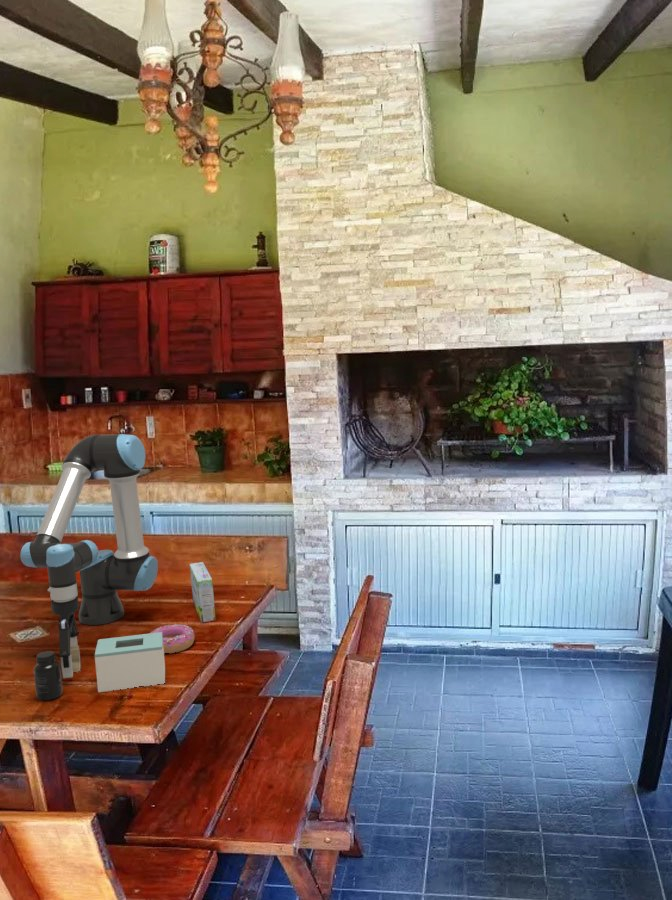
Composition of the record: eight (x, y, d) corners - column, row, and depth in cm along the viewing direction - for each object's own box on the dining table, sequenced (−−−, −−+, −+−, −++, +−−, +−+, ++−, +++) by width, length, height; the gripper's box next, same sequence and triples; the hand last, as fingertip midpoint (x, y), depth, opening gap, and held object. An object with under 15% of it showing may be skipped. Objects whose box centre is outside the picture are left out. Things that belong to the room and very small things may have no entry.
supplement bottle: (67, 694, 215) (63, 653, 213) (44, 704, 210) (39, 661, 208) (55, 687, 219) (50, 647, 217) (31, 696, 214) (27, 655, 212)
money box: (101, 675, 226) (98, 639, 224) (165, 667, 229) (162, 631, 227) (98, 692, 215) (94, 654, 213) (164, 683, 218) (161, 646, 217)
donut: (204, 642, 247) (203, 627, 246) (172, 659, 235) (171, 643, 235) (171, 634, 255) (170, 619, 254) (138, 650, 243) (137, 635, 242)
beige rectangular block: (63, 669, 231) (61, 647, 230) (81, 667, 232) (78, 645, 230) (62, 674, 228) (59, 651, 227) (80, 672, 229) (77, 649, 228)
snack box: (191, 603, 282) (188, 563, 280) (207, 601, 284) (204, 561, 282) (200, 623, 262) (197, 580, 260) (216, 621, 264) (213, 578, 262)
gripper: (56, 586, 237) (63, 652, 241) (43, 614, 213) (51, 687, 216) (82, 583, 239) (88, 649, 242) (72, 611, 215) (79, 683, 218)
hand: (71, 667), depth 229 cm, fingers open, 13 cm apart
